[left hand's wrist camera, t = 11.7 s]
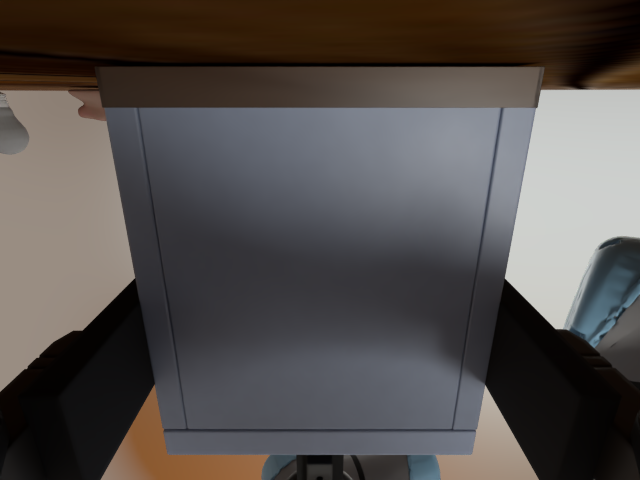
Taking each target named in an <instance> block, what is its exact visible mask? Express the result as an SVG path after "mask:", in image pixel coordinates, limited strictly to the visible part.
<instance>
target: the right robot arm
mask: <svg viewBox="0 0 640 480" xmlns="http://www.w3.org/2000/svg"><path fill="white" fill-rule="evenodd" d="M262 480H440V469H439V465H438V461H437V458H436V456H435V455H270V456H269V457H268V458H267V460H266V462H265V464H264V466H263V469H262Z"/></svg>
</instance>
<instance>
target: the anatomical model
mask: <svg viewBox="0 0 640 480" xmlns="http://www.w3.org/2000/svg"><path fill="white" fill-rule="evenodd" d="M68 92H69V93H70V94H71V95H73V96H74V97H76V98H78V99H79V100H81V101H82V102H83V103H84V105H83V106H81V107H80V108H79V109H78V113H79V115H80V116H81V117H84V118H90V119H96V120H101V121H107V120H106V115H105V109H104V108H102V104H101V99H100V93H99V89H88V90H69V91H68Z"/></svg>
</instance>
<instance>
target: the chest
mask: <svg viewBox="0 0 640 480" xmlns="http://www.w3.org/2000/svg"><path fill="white" fill-rule="evenodd" d="M544 69H545V67H380V66H95V72H96V77H97V83H98V88H99V93H100V99H101V104H102V108H104V109H105V115H106V120H107V126H108V131H109V137H110V142H111V148H112V153H113V159H114V164H115V170H116V175H117V180H118V186H119V191H120V197H121V202H122V208H123V213H124V219H125V224H126V230H127V235H128V241H129V246H130V252H131V257H132V262H133V268H134V273H135V279H136V284H137V290H138V295H139V301H140V305H141V311H142V316H143V322H144V327H145V333H146V338H147V344H148V349H149V355H150V360H151V366H152V371H153V377H154V382H155V388H156V394H157V399H158V405H159V410H160V416H161V421H162V427H163V428H164V429H186V428H187V427H188V429H452V428H453V429H454V430H476V429H477V426H478V421H479V415H480V410H481V404H482V399H483V393H484V388H485V381H486V376H487V370H488V365H489V359H490V354H491V348H492V343H493V337H494V332H495V326H496V321H497V315H498V310H499V304H500V301H501V295H502V290H503V284H504V279H505V273H506V268H507V262H508V257H509V252H510V246H511V241H512V235H513V230H514V224H515V219H516V213H517V208H518V202H519V197H520V191H521V186H522V181H523V175H524V170H525V164H526V159H527V153H528V148H529V142H530V137H531V131H532V126H533V120H534V115H535V110H536V108H537V107H538V102H539V96H540V91H541V85H542V80H543V75H544Z"/></svg>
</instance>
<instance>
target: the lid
mask: <svg viewBox="0 0 640 480" xmlns="http://www.w3.org/2000/svg"><path fill="white" fill-rule="evenodd" d="M475 435H476V430H454V429H453V428H452V429H188V427H187V428H186V429H164V437H165V443H166V449H167V453H168V454H169V455H471V454H472V452H473V446H474V441H475Z"/></svg>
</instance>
